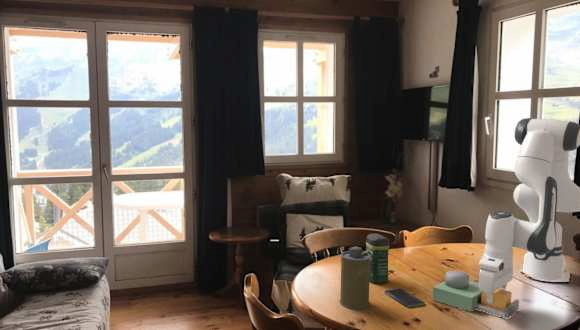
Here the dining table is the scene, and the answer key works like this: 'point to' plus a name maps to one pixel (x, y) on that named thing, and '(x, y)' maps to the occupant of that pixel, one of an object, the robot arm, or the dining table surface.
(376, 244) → the coffee jar
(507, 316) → the open gray drawer
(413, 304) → the phone
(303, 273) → the dining table surface
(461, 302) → the green block with dome
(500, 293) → the orange block
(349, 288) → the canister
